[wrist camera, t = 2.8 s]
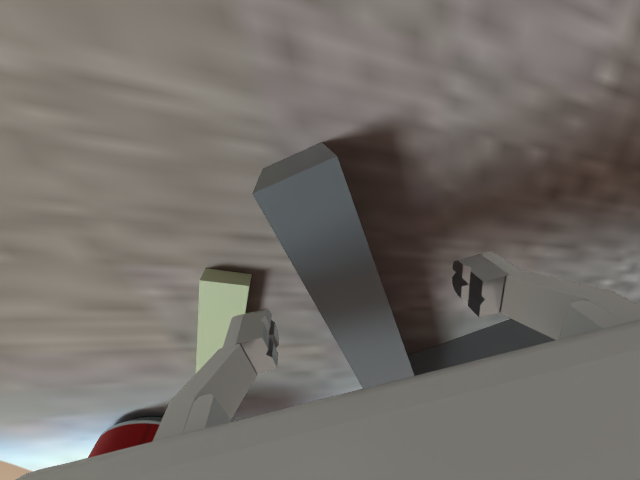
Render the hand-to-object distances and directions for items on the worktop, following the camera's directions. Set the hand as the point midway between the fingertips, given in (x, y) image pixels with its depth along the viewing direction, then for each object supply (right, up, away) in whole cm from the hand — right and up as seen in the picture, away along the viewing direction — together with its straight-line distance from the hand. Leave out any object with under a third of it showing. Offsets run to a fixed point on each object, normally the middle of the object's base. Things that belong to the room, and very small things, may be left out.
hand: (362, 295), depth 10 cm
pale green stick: (-9, -5, +7) cm, 12 cm away
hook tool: (+5, +1, +5) cm, 7 cm away
